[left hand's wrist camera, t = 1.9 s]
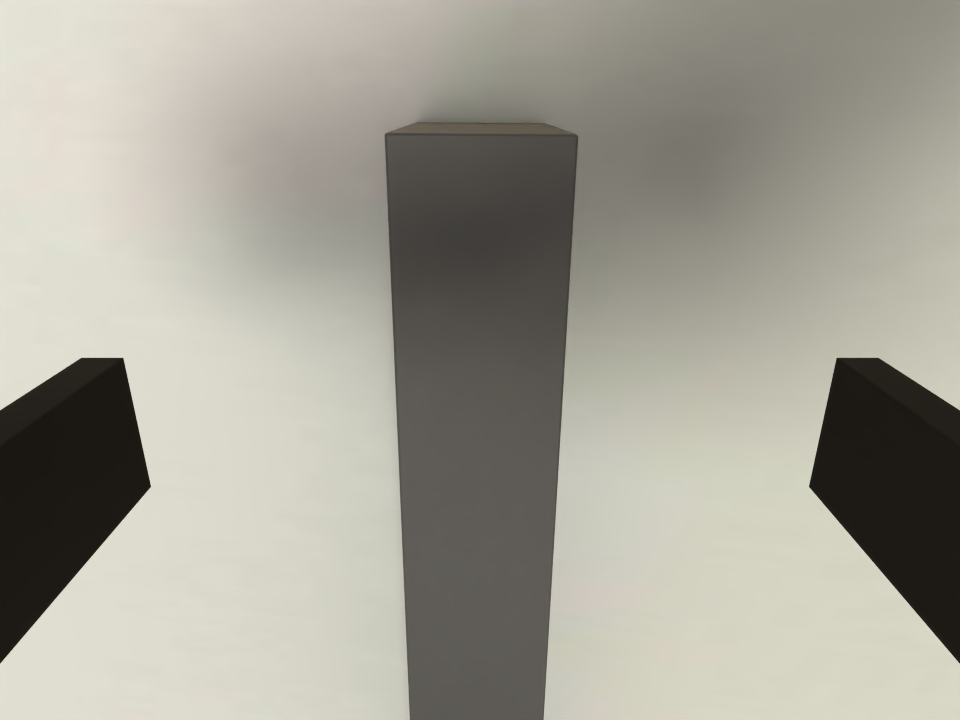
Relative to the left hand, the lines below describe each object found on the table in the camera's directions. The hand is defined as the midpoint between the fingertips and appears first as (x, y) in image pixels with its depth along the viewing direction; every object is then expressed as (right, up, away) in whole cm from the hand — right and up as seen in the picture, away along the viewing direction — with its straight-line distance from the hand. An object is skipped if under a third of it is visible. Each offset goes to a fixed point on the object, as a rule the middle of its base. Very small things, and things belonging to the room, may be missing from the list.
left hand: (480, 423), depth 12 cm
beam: (0, -27, +27) cm, 38 cm away
